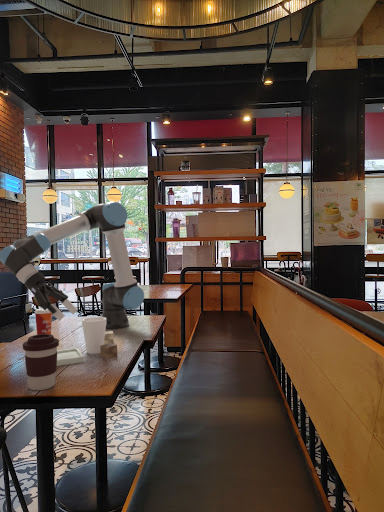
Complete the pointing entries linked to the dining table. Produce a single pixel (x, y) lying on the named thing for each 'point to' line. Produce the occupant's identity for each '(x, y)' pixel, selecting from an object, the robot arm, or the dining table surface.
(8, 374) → the dining table surface
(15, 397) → the dining table surface
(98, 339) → the foam cup
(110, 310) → the robot arm
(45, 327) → the paper cup
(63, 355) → the tray
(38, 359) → the coffee cup
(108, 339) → the beech block
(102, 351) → the walnut block
